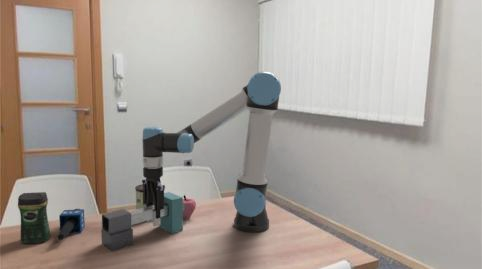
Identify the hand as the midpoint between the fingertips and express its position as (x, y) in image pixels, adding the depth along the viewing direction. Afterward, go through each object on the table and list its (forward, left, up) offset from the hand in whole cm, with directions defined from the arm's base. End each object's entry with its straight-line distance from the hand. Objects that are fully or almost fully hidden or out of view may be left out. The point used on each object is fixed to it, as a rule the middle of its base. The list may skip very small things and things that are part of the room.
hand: (153, 223), depth 145 cm
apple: (+6, -19, -4) cm, 21 cm away
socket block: (0, -8, -4) cm, 9 cm away
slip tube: (0, +3, +3) cm, 4 cm away
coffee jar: (+24, +37, -4) cm, 44 cm away
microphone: (+22, +24, -4) cm, 33 cm away
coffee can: (+18, -7, -4) cm, 20 cm away
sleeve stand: (0, +15, -4) cm, 16 cm away
